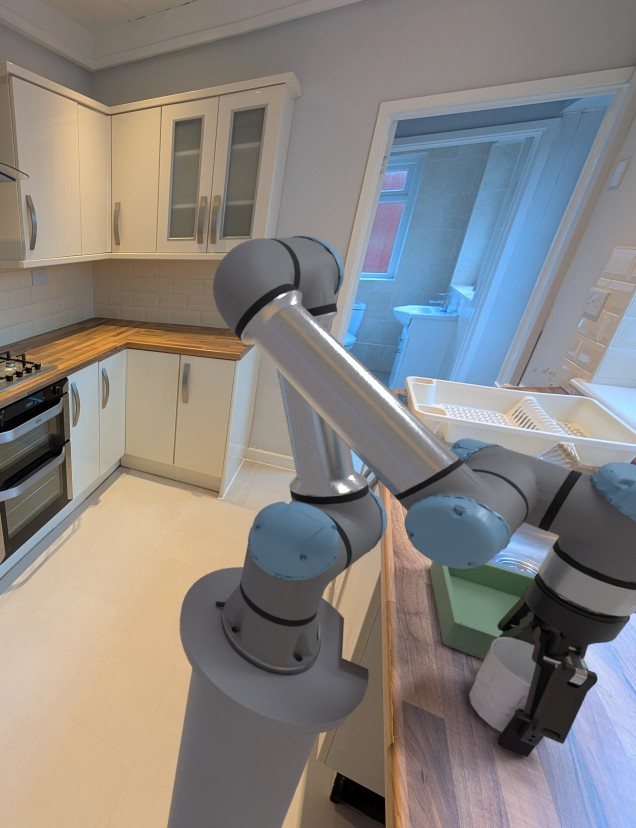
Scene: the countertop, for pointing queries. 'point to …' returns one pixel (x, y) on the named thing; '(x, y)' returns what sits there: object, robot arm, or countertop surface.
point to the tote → (475, 603)
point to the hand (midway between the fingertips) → (502, 712)
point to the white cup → (503, 681)
